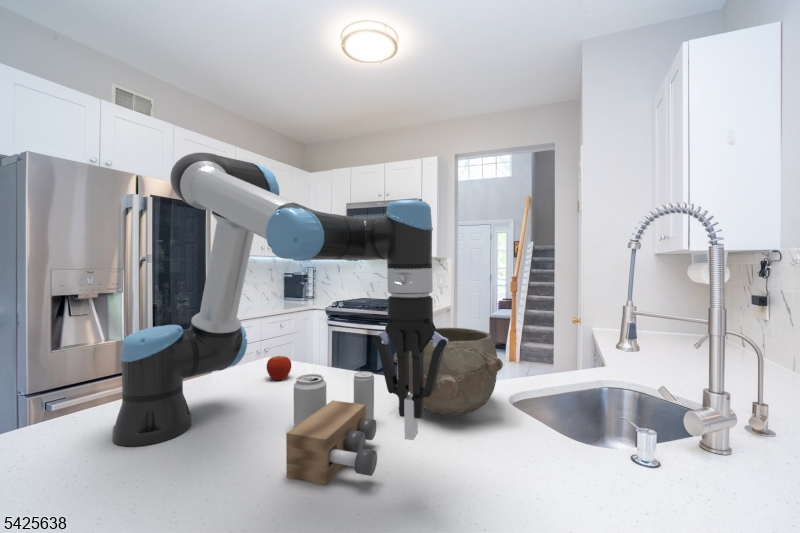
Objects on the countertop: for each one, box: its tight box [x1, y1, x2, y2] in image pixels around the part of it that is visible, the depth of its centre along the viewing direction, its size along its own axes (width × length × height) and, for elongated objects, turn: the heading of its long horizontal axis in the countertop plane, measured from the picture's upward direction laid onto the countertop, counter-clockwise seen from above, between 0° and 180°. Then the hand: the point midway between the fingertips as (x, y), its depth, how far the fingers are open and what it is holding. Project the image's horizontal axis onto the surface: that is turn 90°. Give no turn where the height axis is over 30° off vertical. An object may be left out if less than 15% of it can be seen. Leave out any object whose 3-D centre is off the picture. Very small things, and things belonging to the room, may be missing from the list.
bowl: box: [393, 327, 504, 416], centre depth 101 cm, size 27×29×20 cm
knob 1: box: [344, 430, 366, 453], centre depth 75 cm, size 11×4×4 cm, turn 71°
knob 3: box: [358, 418, 377, 441], centre depth 81 cm, size 11×4×4 cm, turn 71°
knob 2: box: [329, 447, 378, 477], centre depth 68 cm, size 11×4×4 cm, turn 71°
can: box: [293, 373, 327, 428], centre depth 89 cm, size 8×8×12 cm
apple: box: [266, 355, 292, 381], centre depth 126 cm, size 8×8×8 cm
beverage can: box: [353, 371, 375, 420], centre depth 91 cm, size 5×5×12 cm
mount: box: [285, 399, 367, 486], centre depth 75 cm, size 8×17×8 cm, turn 161°
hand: (411, 436), depth 64 cm, fingers closed
